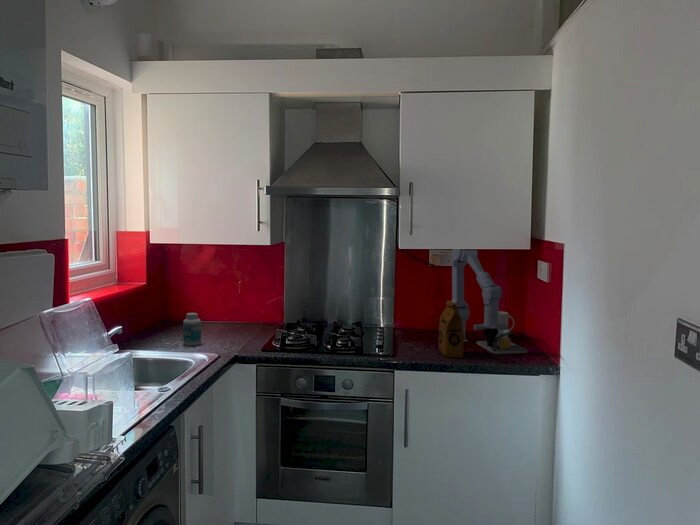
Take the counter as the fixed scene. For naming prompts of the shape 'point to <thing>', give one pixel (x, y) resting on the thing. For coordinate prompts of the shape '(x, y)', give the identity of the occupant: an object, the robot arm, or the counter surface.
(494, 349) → the panel
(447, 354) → the coffee package
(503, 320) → the mug
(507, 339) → the slider knob
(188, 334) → the pill bottle
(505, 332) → the teal tile with stripe
